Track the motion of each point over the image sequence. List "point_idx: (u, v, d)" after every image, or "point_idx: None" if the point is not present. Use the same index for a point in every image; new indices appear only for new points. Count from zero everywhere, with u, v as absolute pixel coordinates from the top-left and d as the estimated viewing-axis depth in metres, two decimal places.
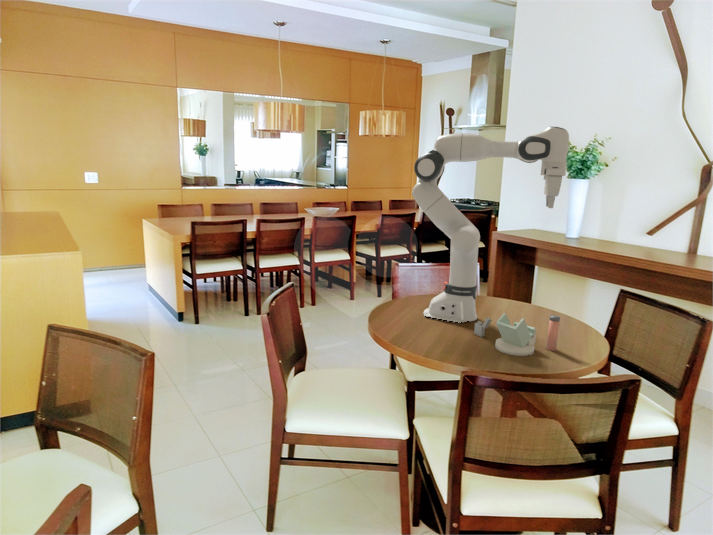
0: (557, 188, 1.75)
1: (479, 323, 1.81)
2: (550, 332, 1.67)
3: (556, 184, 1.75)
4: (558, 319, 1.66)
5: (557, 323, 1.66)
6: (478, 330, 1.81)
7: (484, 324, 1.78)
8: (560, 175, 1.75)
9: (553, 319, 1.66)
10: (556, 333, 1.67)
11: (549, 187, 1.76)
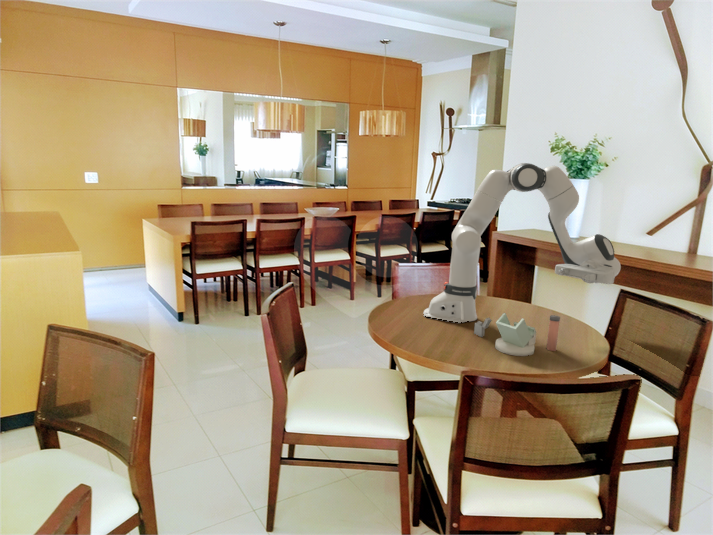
0: (609, 281, 1.71)
1: (479, 323, 1.81)
2: (550, 332, 1.67)
3: (611, 279, 1.72)
4: (558, 319, 1.66)
5: (557, 323, 1.66)
6: (478, 330, 1.81)
7: (484, 324, 1.78)
8: None
9: (553, 319, 1.66)
10: (556, 333, 1.67)
11: (610, 273, 1.71)
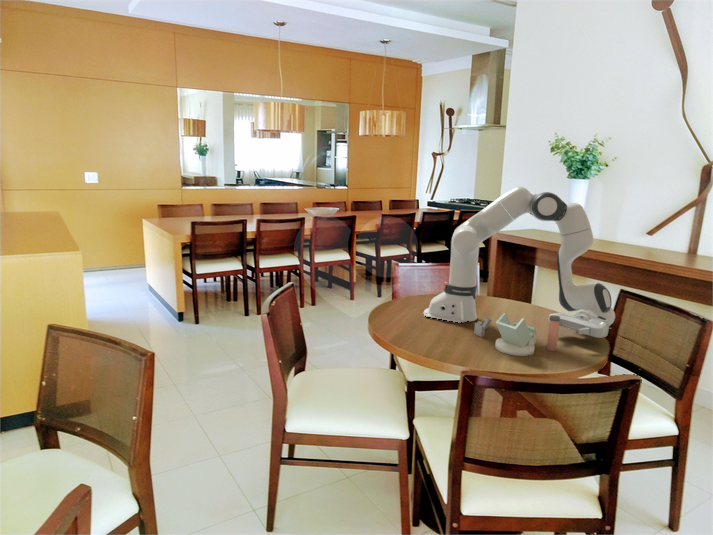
0: (602, 335, 1.70)
1: (479, 323, 1.81)
2: (550, 332, 1.67)
3: (604, 333, 1.71)
4: (558, 319, 1.66)
5: (557, 323, 1.66)
6: (478, 330, 1.81)
7: (484, 324, 1.78)
8: None
9: (553, 319, 1.66)
10: (556, 333, 1.67)
11: (604, 328, 1.70)
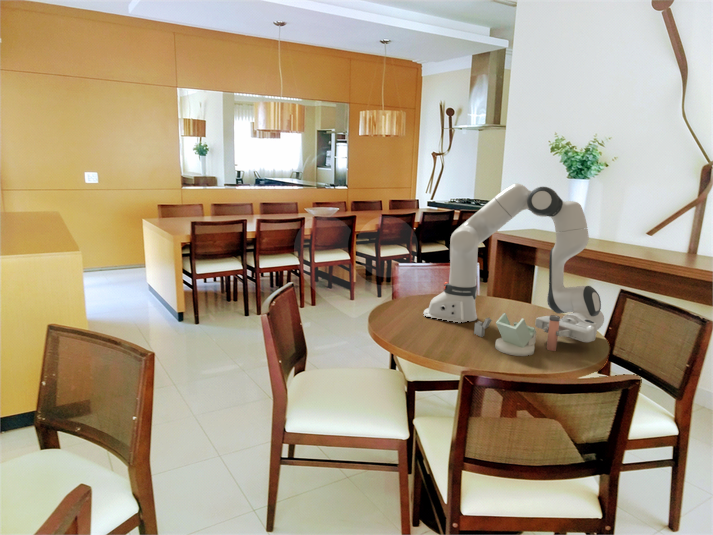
0: (590, 340, 1.64)
1: (479, 323, 1.81)
2: (550, 332, 1.67)
3: (592, 337, 1.65)
4: (558, 319, 1.66)
5: (557, 323, 1.66)
6: (478, 330, 1.81)
7: (484, 324, 1.78)
8: (592, 337, 1.69)
9: (553, 319, 1.66)
10: None
11: (591, 332, 1.64)
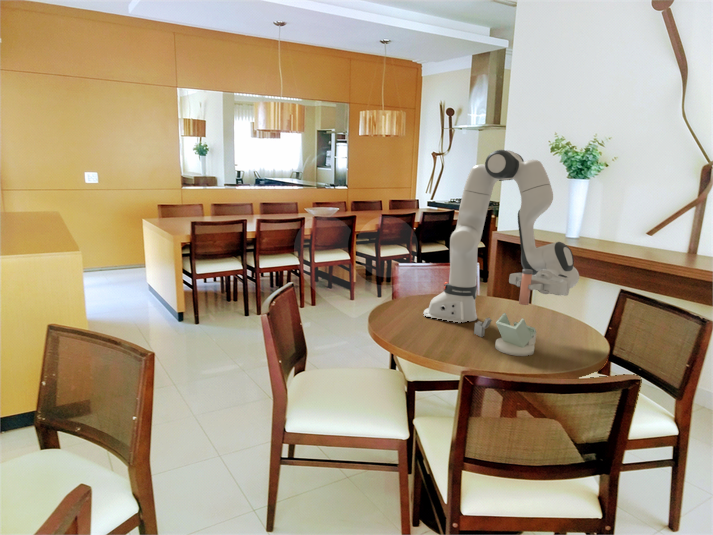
0: (562, 293, 1.62)
1: (479, 323, 1.81)
2: (522, 286, 1.64)
3: (565, 290, 1.63)
4: (530, 272, 1.63)
5: (529, 276, 1.63)
6: (478, 330, 1.81)
7: (484, 324, 1.78)
8: (566, 292, 1.66)
9: (525, 272, 1.63)
10: None
11: (564, 285, 1.61)
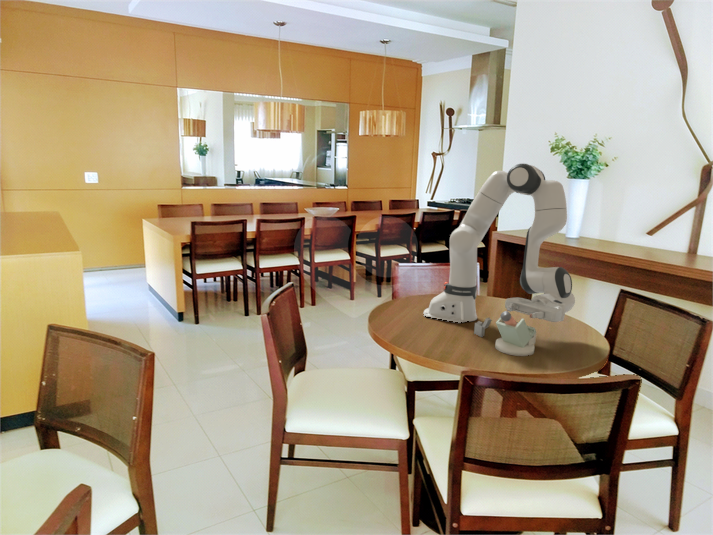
0: (557, 319, 1.63)
1: (479, 323, 1.81)
2: None
3: (560, 317, 1.64)
4: (509, 318, 1.61)
5: (510, 320, 1.62)
6: (478, 330, 1.81)
7: (484, 324, 1.78)
8: (561, 318, 1.67)
9: (504, 320, 1.61)
10: (514, 326, 1.64)
11: (559, 311, 1.63)
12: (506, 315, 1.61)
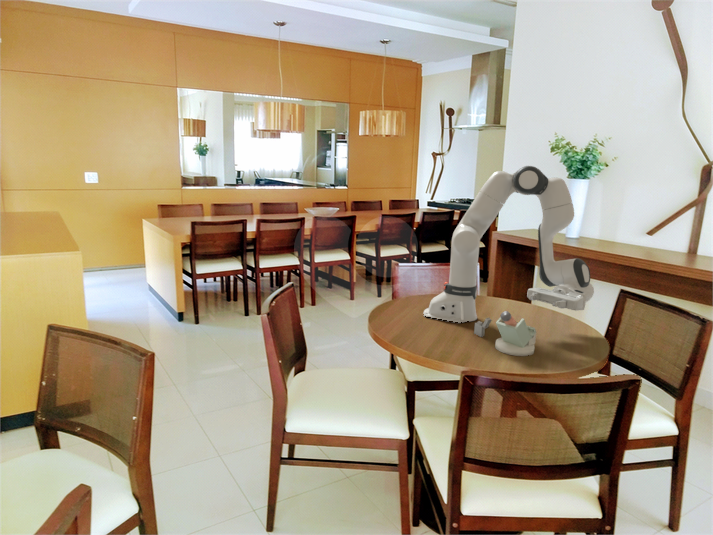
0: (579, 308, 1.71)
1: (479, 323, 1.81)
2: None
3: (581, 306, 1.72)
4: (509, 318, 1.61)
5: (510, 320, 1.62)
6: (478, 330, 1.81)
7: (484, 324, 1.78)
8: (582, 307, 1.75)
9: (504, 320, 1.61)
10: (514, 326, 1.64)
11: (580, 300, 1.70)
12: (506, 315, 1.61)
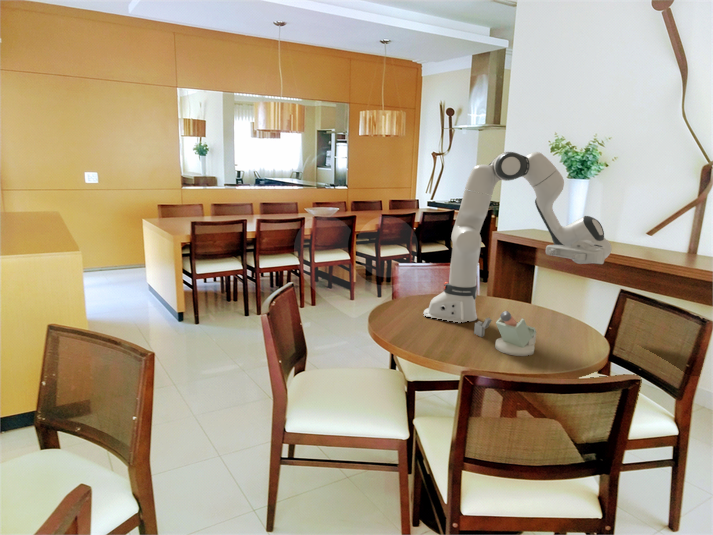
0: (599, 261, 1.71)
1: (479, 323, 1.81)
2: None
3: (601, 259, 1.72)
4: (509, 318, 1.61)
5: (510, 320, 1.62)
6: (478, 330, 1.81)
7: (484, 324, 1.78)
8: (601, 260, 1.75)
9: (504, 320, 1.61)
10: (514, 326, 1.64)
11: (600, 253, 1.71)
12: (506, 315, 1.61)
